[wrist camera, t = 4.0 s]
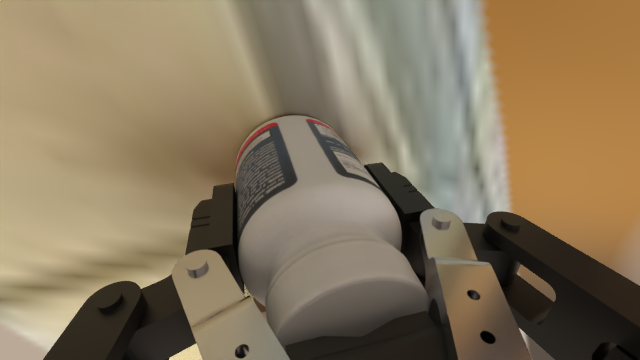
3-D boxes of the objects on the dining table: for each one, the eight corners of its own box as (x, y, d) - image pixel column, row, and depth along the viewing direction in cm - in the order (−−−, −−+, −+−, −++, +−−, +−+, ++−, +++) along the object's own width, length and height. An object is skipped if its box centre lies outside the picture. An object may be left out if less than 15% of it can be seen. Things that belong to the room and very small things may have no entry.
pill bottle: (244, 218, 15) (253, 420, 8) (225, 119, 13) (213, 286, 5) (344, 202, 16) (434, 368, 9) (346, 107, 14) (477, 233, 6)
